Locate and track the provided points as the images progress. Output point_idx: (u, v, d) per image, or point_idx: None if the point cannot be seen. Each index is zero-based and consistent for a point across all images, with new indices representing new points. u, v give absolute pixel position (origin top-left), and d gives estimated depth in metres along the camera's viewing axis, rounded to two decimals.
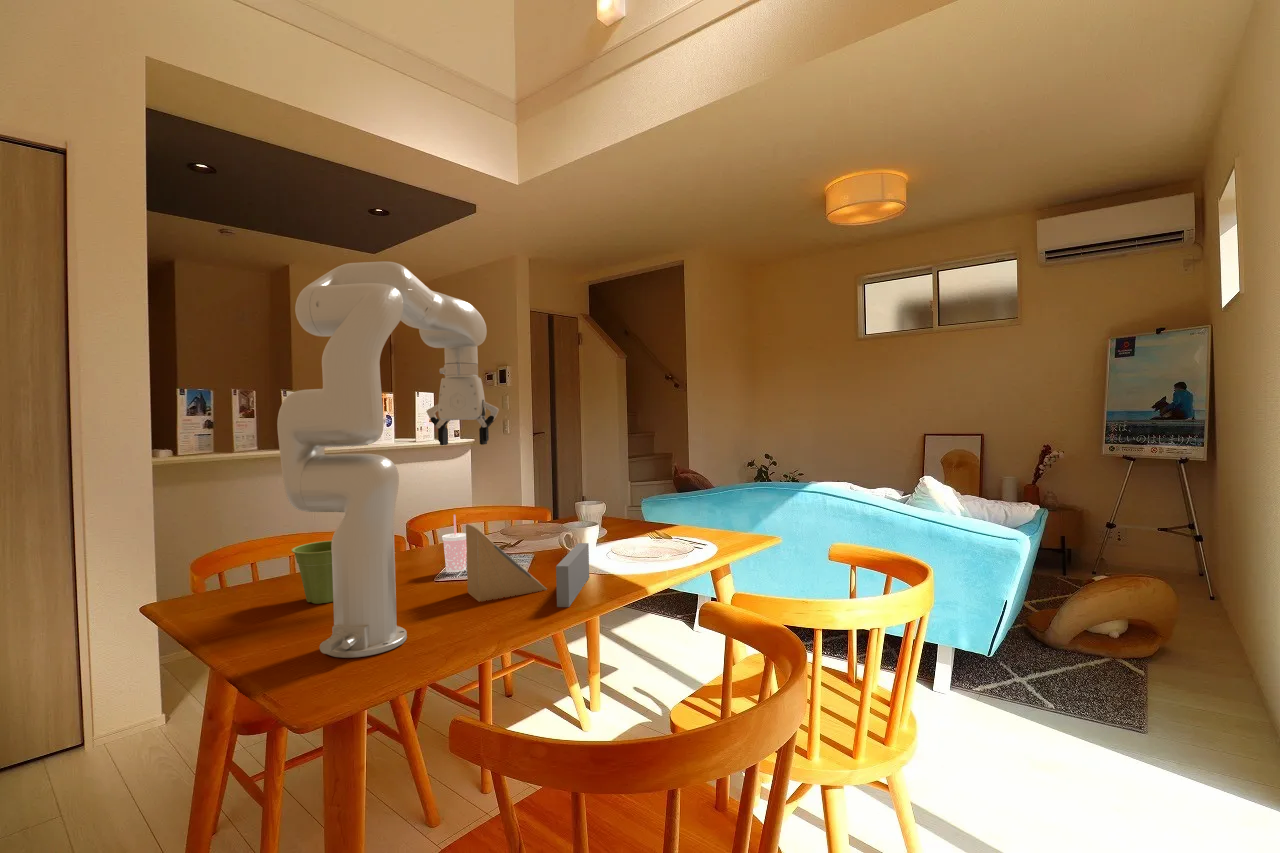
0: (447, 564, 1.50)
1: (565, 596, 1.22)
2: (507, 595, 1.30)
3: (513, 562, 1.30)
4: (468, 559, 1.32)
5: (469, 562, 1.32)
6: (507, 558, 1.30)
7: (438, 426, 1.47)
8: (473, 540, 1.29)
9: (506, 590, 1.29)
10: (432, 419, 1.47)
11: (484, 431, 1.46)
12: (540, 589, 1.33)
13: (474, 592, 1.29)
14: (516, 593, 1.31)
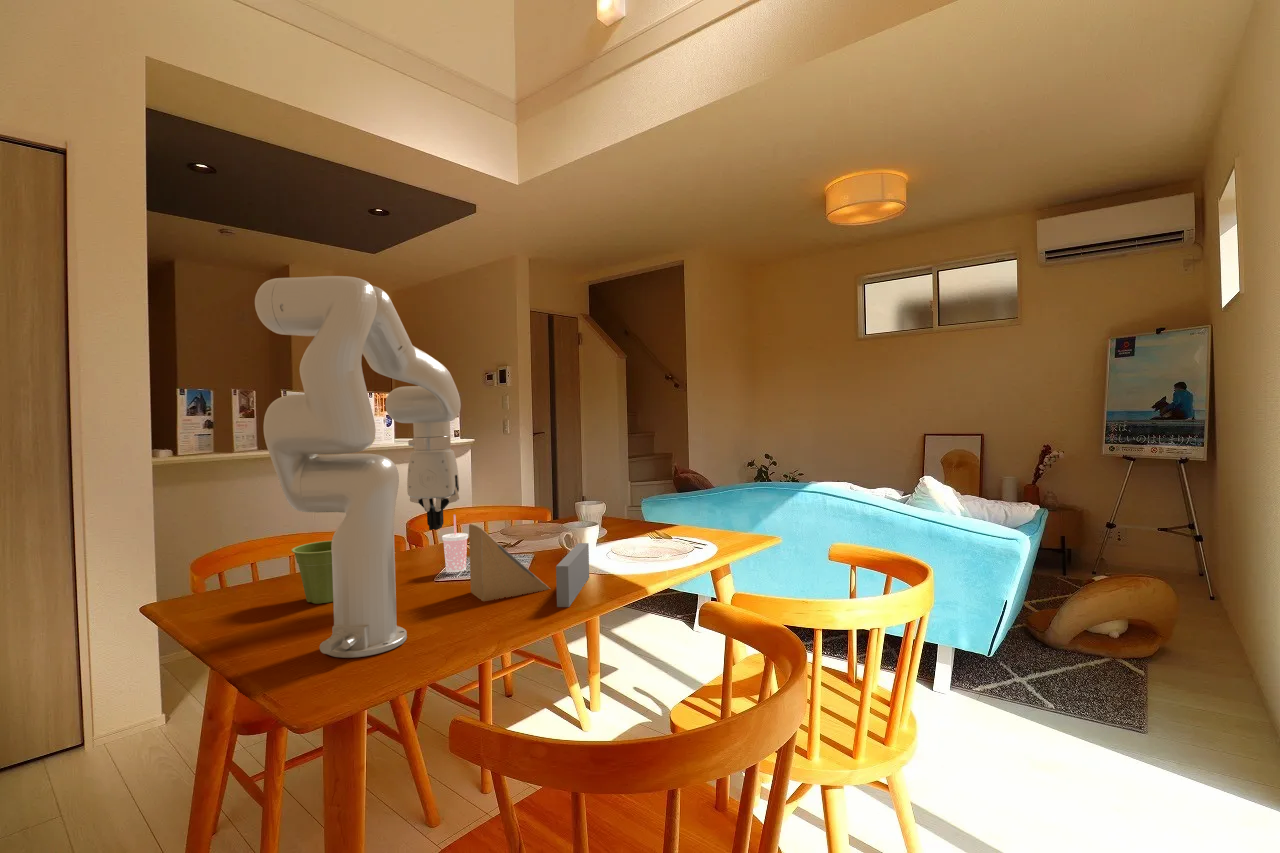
0: (447, 564, 1.50)
1: (565, 596, 1.22)
2: (511, 595, 1.30)
3: (517, 562, 1.31)
4: (471, 559, 1.32)
5: (472, 562, 1.32)
6: (511, 558, 1.30)
7: (427, 509, 1.35)
8: (477, 540, 1.29)
9: (510, 590, 1.30)
10: (420, 501, 1.35)
11: (438, 515, 1.35)
12: (543, 589, 1.34)
13: (477, 592, 1.30)
14: (520, 593, 1.31)
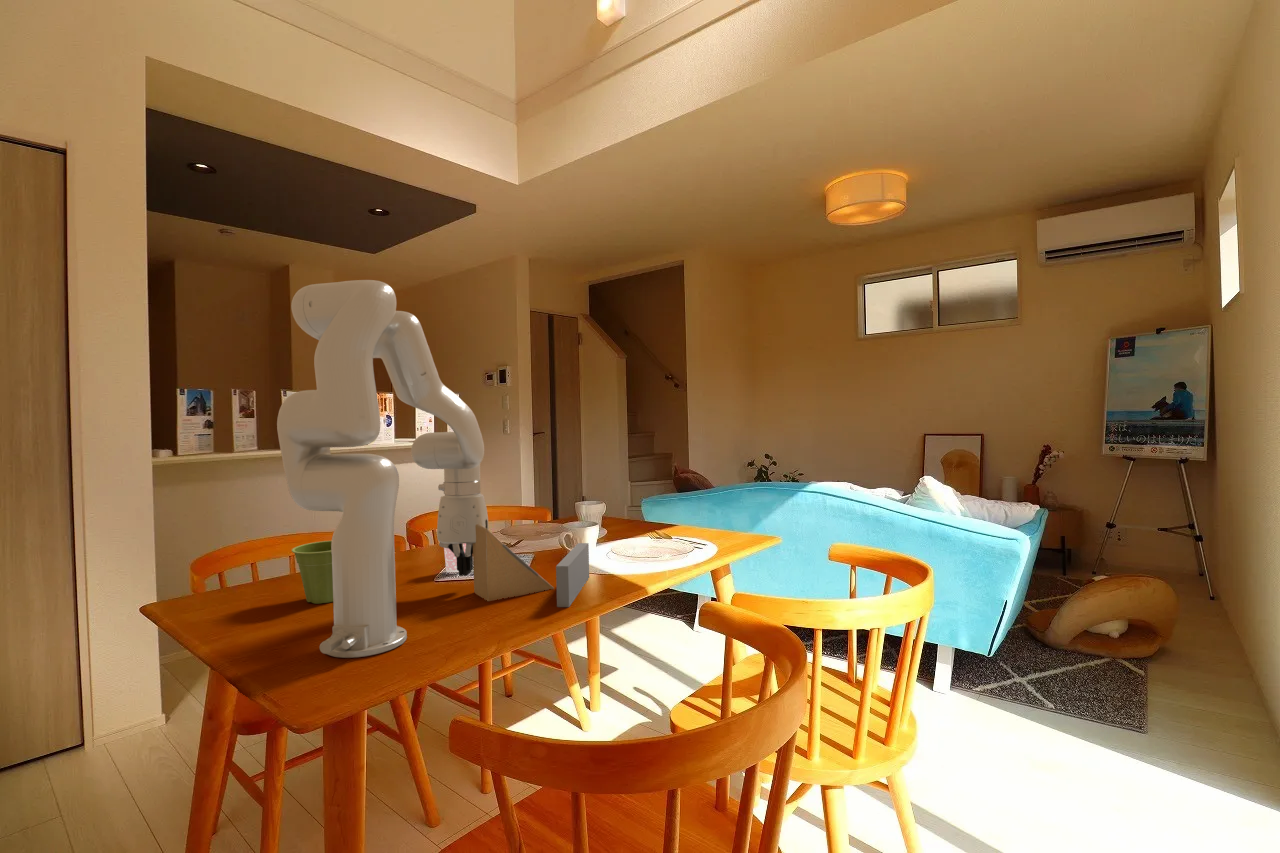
0: (447, 564, 1.50)
1: (565, 596, 1.22)
2: (515, 594, 1.30)
3: (521, 561, 1.31)
4: (475, 558, 1.32)
5: (476, 561, 1.32)
6: (515, 557, 1.30)
7: (457, 554, 1.34)
8: (481, 539, 1.29)
9: (514, 589, 1.30)
10: (450, 546, 1.34)
11: (468, 560, 1.34)
12: (547, 588, 1.34)
13: (481, 592, 1.30)
14: (524, 592, 1.31)
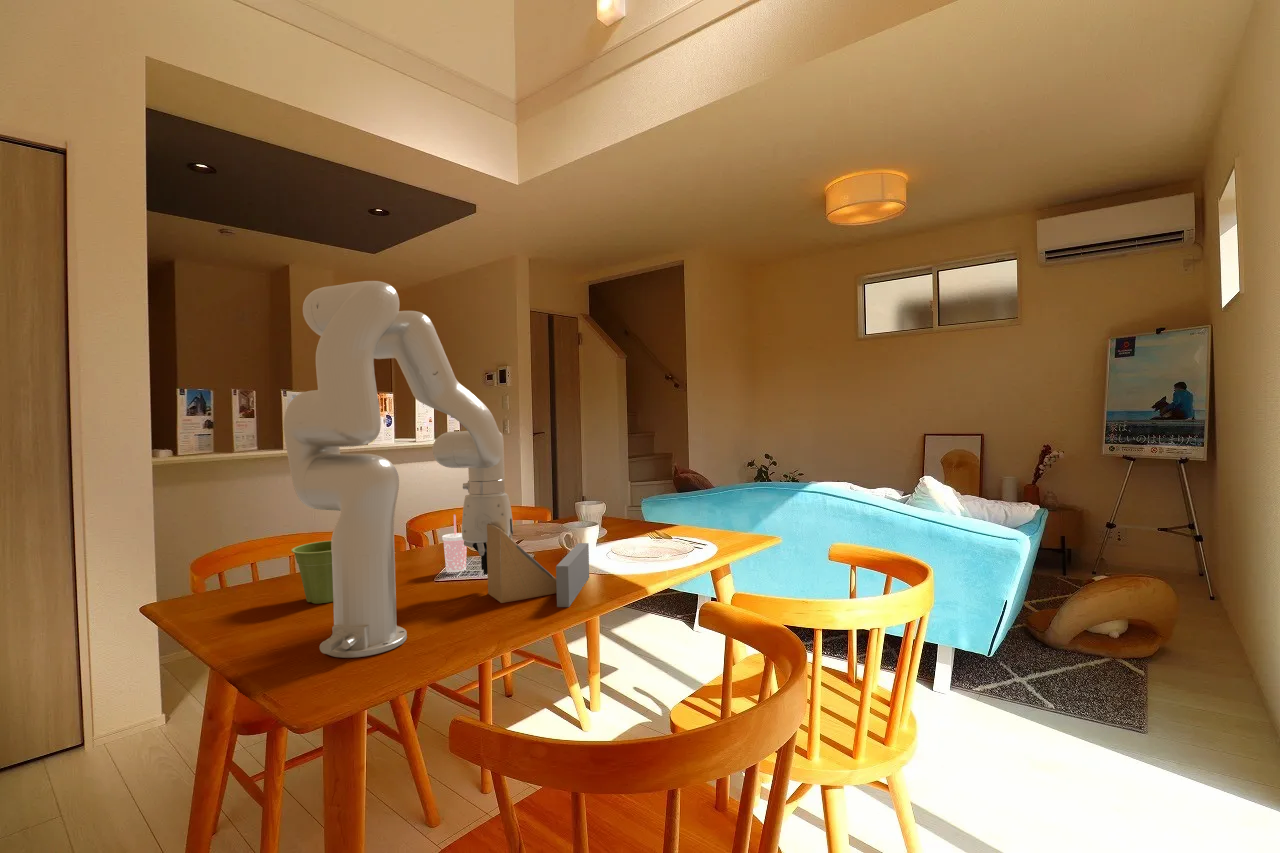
0: (447, 564, 1.50)
1: (565, 596, 1.22)
2: (529, 595, 1.28)
3: (535, 562, 1.29)
4: (489, 559, 1.31)
5: (490, 562, 1.30)
6: (529, 558, 1.28)
7: (481, 553, 1.33)
8: (495, 540, 1.27)
9: (528, 590, 1.28)
10: (474, 545, 1.34)
11: None
12: None
13: (495, 593, 1.28)
14: (538, 593, 1.29)
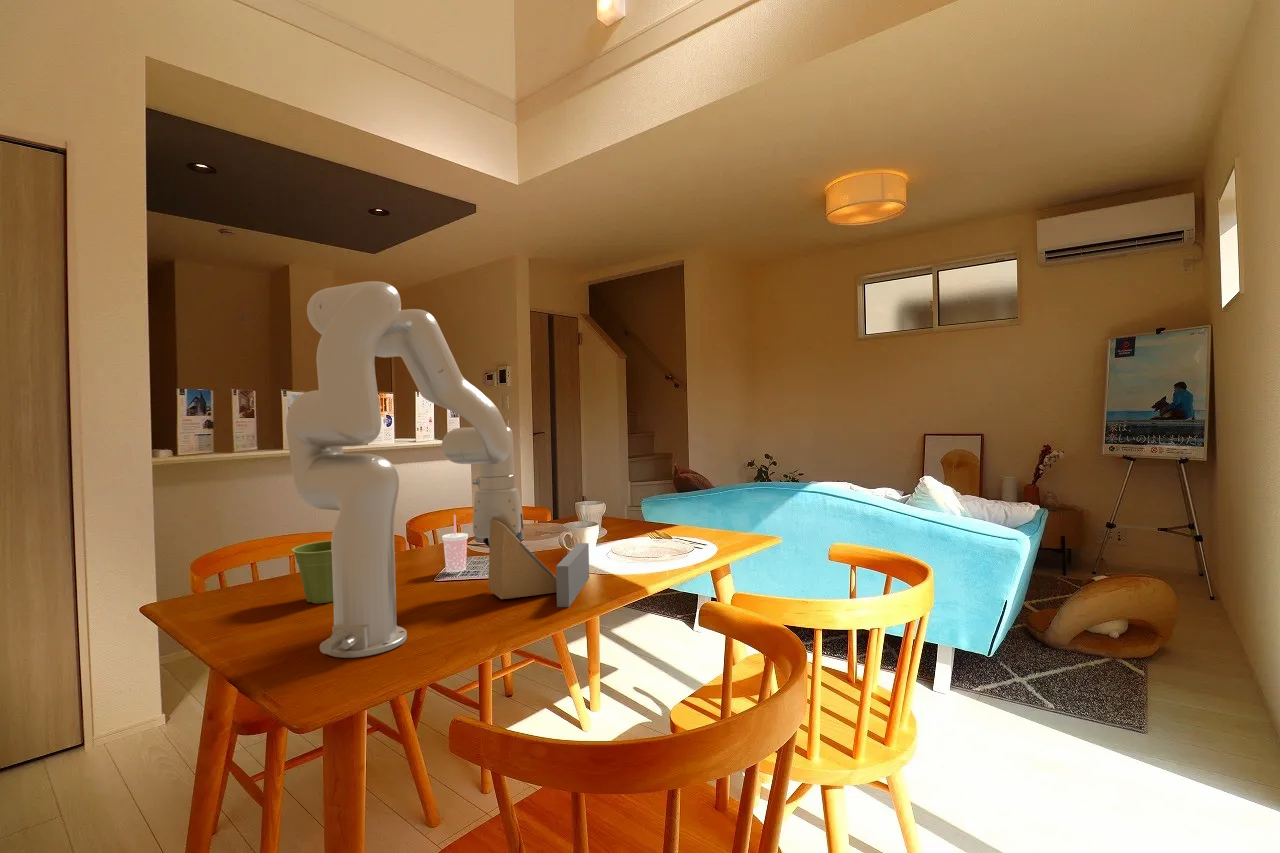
0: (447, 564, 1.50)
1: (565, 596, 1.22)
2: (529, 593, 1.28)
3: (537, 560, 1.29)
4: (491, 554, 1.31)
5: (492, 557, 1.30)
6: (531, 556, 1.28)
7: None
8: (498, 536, 1.27)
9: (528, 588, 1.28)
10: (485, 540, 1.35)
11: None
12: None
13: (495, 588, 1.28)
14: (538, 592, 1.29)
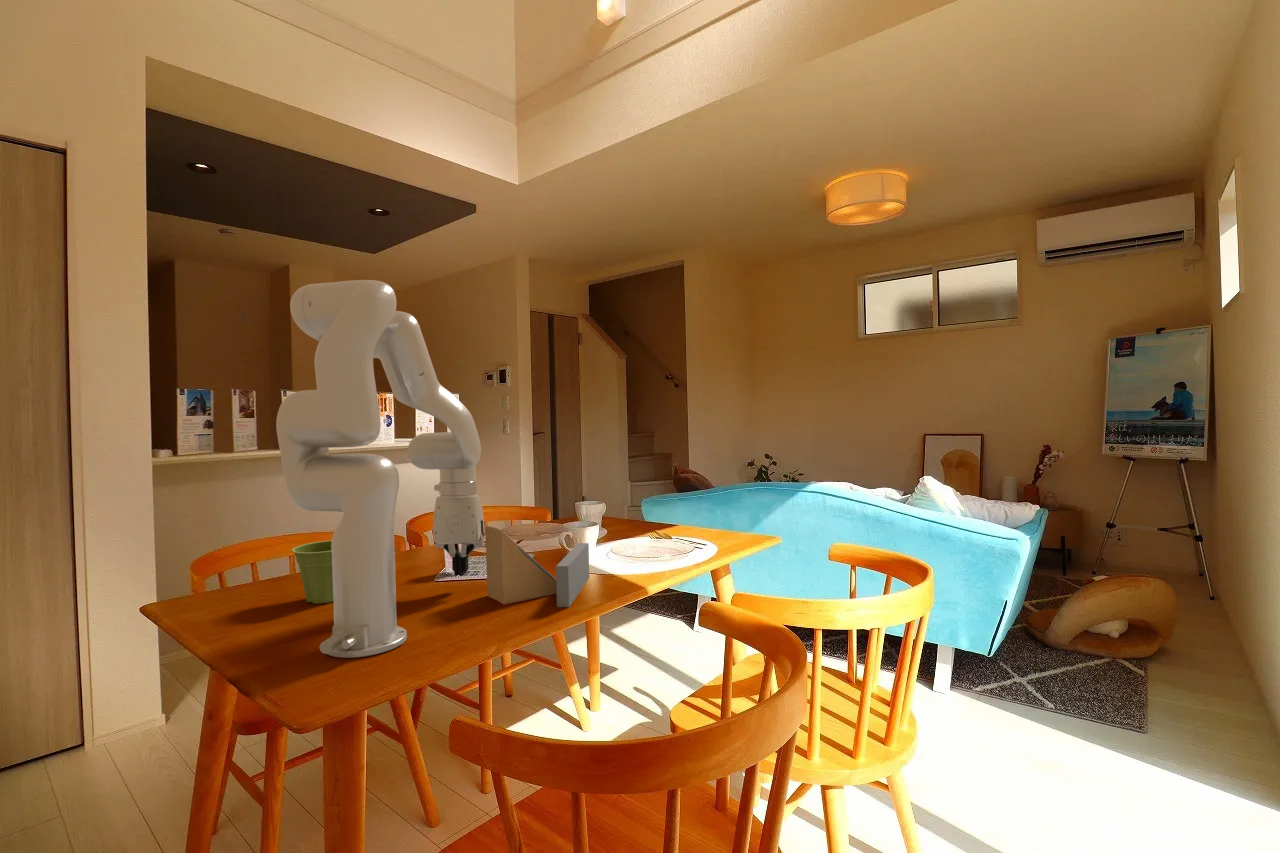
0: (447, 564, 1.50)
1: (565, 596, 1.22)
2: (531, 597, 1.28)
3: (536, 563, 1.29)
4: (488, 561, 1.30)
5: (490, 564, 1.29)
6: (530, 559, 1.28)
7: (452, 555, 1.34)
8: (496, 542, 1.27)
9: (530, 592, 1.28)
10: (446, 547, 1.34)
11: (463, 561, 1.34)
12: None
13: (496, 595, 1.27)
14: (539, 595, 1.29)
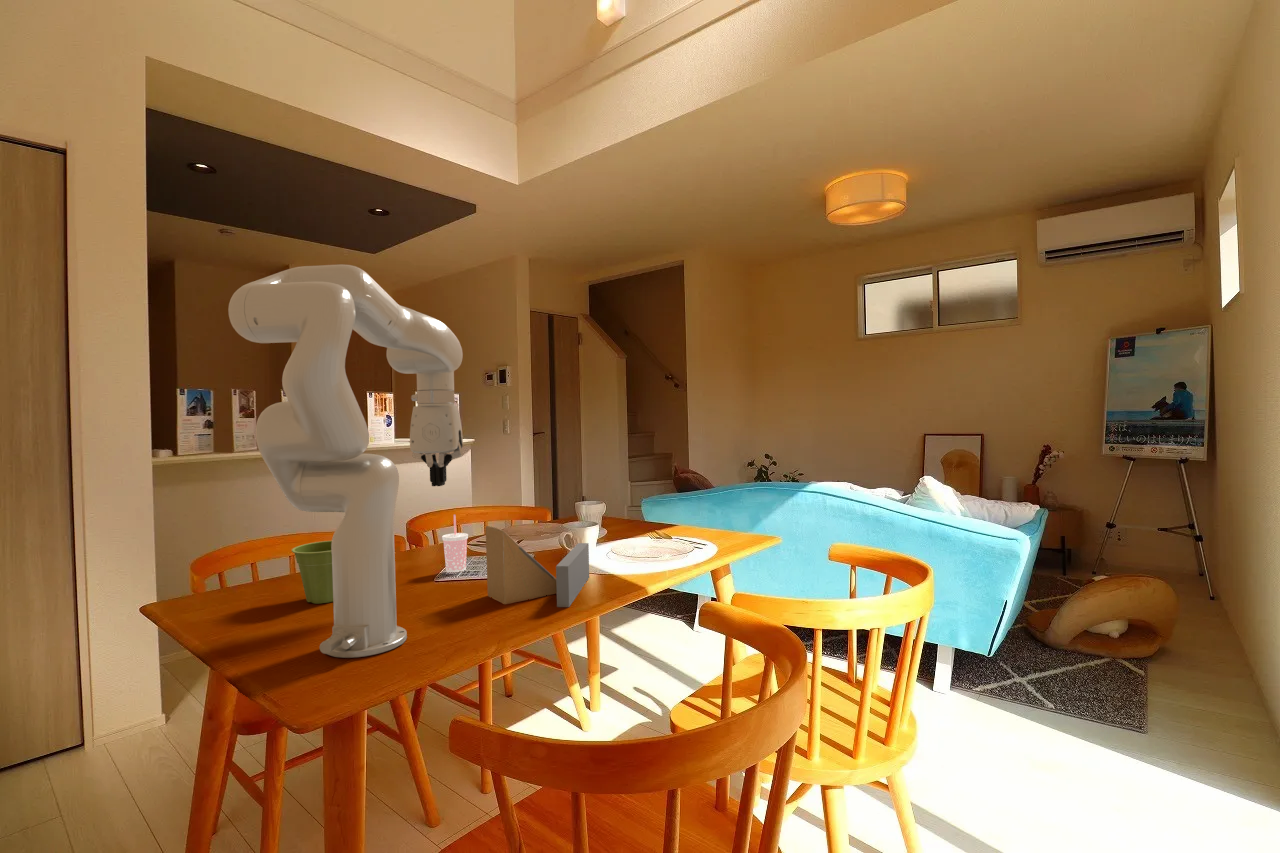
0: (447, 564, 1.50)
1: (565, 596, 1.22)
2: (531, 597, 1.28)
3: (537, 563, 1.29)
4: (489, 561, 1.30)
5: (490, 564, 1.29)
6: (531, 559, 1.28)
7: (430, 465, 1.32)
8: (497, 542, 1.26)
9: (530, 592, 1.28)
10: (423, 457, 1.32)
11: (441, 471, 1.32)
12: None
13: (497, 595, 1.27)
14: (540, 594, 1.29)
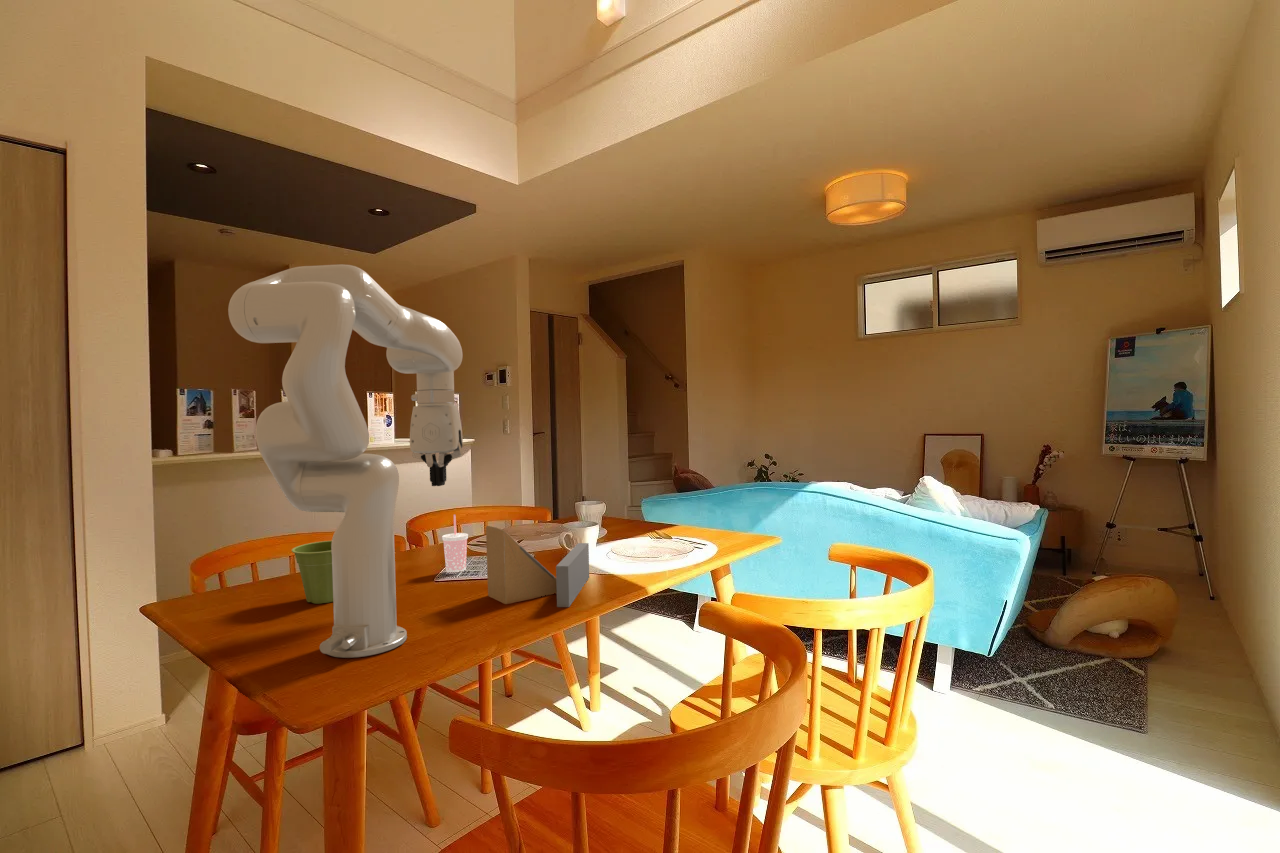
0: (447, 564, 1.50)
1: (565, 596, 1.22)
2: (532, 596, 1.28)
3: (537, 563, 1.29)
4: (489, 561, 1.30)
5: (491, 564, 1.29)
6: (532, 559, 1.28)
7: (430, 465, 1.32)
8: (497, 541, 1.27)
9: (531, 591, 1.28)
10: (423, 457, 1.32)
11: (441, 471, 1.32)
12: None
13: (497, 595, 1.27)
14: (540, 594, 1.29)
